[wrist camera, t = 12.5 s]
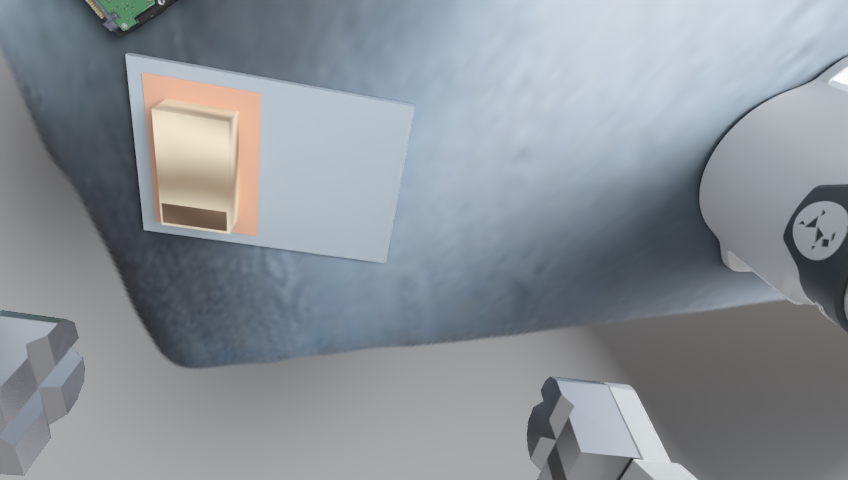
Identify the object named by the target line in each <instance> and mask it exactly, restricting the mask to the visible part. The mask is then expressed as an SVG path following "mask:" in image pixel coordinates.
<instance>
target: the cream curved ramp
mask: <svg viewBox="0 0 848 480" xmlns="http://www.w3.org/2000/svg"><path fill="white" fill-rule="evenodd" d="M151 111H152V122H153V134H154V145H155V157H156V168H157V180H158V191H159V202H160V214H161V225H167V226H174V227H181V228H189V229H196V230H203V231H210V232H218V233H225V234H230V232H231V231H232V229H233V227H234V225H235V224H236V222H237V220H238V205H239V111H237V110H231V109H225V108H219V107H213V106H207V105H201V104H196V103H190V102H184V101H178V100H172V99H165V100H163V101H162V102H161V103H159V104H158V105H157V106H155V107H154V108H152V109H151Z"/></svg>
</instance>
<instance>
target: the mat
mask: <svg viewBox="0 0 848 480" xmlns="http://www.w3.org/2000/svg"><path fill="white" fill-rule="evenodd" d="M125 57H126V66H127V76H128V85H129V95H130V104H131V114H132V123H133V132H134V142H135V151H136V161H137V170H138V180H139V189H140V198H141V208H142V217H143V227H144V230H148V231H155V232H162V233H169V234H177V235H184V236H191V237H198V238H206V239H213V240H220V241H227V242H234V243H242V244H249V245H256V246H263V247H271V248H278V249H285V250H292V251H299V252H307V253H314V254H321V255H328V256H336V257H343V258H350V259H357V260H365V261H372V262H379V263H386V260H387V255H388V250H389V244H390V239H391V234H392V228H393V223H394V218H395V212H396V207H397V201H398V196H399V191H400V185H401V180H402V175H403V169H404V164H405V158H406V153H407V148H408V142H409V137H410V132H411V126H412V121H413V116H414V110H415V104H410V103H404V102H399V101H393V100H388V99H382V98H377V97H371V96H366V95H360V94H355V93H349V92H344V91H338V90H333V89H327V88H322V87H316V86H311V85H305V84H300V83H294V82H288V81H283V80H277V79H272V78H266V77H261V76H255V75H250V74H244V73H239V72H233V71H228V70H222V69H217V68H211V67H206V66H200V65H195V64H189V63H184V62H178V61H173V60H167V59H162V58H156V57H150V56H145V55H139V54H134V53H127V54H125ZM165 99H172V100H178V101H184V102H190V103H196V104H201V105H207V106H213V107H219V108H225V109H231V110H237V111H239V205H238V220H237V222H236V224H235V225H234V227H233V229H232V231H231V232H230V234H225V233H218V232H210V231H203V230H196V229H189V228H181V227H174V226H167V225H161V214H160V202H159V191H158V180H157V168H156V157H155V145H154V134H153V122H152V111H151V109H152V108H154V107H155V106H157V105H158V104H159V103H161V102H162V101H163V100H165Z"/></svg>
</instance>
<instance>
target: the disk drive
mask: <svg viewBox="0 0 848 480" xmlns="http://www.w3.org/2000/svg"><path fill="white" fill-rule="evenodd" d="M85 1H86V2H87V3H88V4H89V5H90V6H91V8H92V9H93V10H94V11H95V12H96V14H97V15H98V16H99V17H100V18H101V19H104V20H105V21H106V22H105V23H103V25H104V26H105V27H107V28H108V29H109V30H110V31H114V32H115V33H116V34H117V35H119V36H124V35H126V34H128V33H131V32H133V31H134V30H136V29H137V28H139V27H140V26H142V25H143V24H144V23H146V22H147V21H149V20H150V19H153V18H155V17H156V16H158V15H159V14H161V13H162V12H164V11H165V10H166V8H168V7H169V6H171V5H172V4H173V3H175V2H176V1H178V0H85Z"/></svg>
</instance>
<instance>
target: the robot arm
mask: <svg viewBox="0 0 848 480" xmlns="http://www.w3.org/2000/svg"><path fill="white" fill-rule="evenodd" d="M699 201H700V209H701V213H702V216H703V218H704V220H705V222H706V224H707V225H708V227H709V228H710V229H711V231H712V232H713V233H714V234H715V235H716V237H717V238H718V240H719V242H720V248H721V256H722V260H723V262H724V264H725V265H726V266H728V267H729V268H730V269H732V270H733V271H736V272H751V271H753V272H754V273H755V274H756V275H758V276H759V277H760V278H761V279H762V280H764V281H765V282H766V283H767V284H769V285H770V286H771V287H772V288H774V289H775V290H776V291H777V292H779V293H780V294H781V295H782V296H784V297H785V298H786V299H788V300H789V301H790V302H792V303H795V304H797V305H801V304H810V305H816V306H817V307H818V308H819V310H820V311H821V312H822V313H823V314H824V315H825V316H826V317H827V318H828V319H830V320H831V321H832V322H833V323H835V324H836V325H837V326H840V327H841V328H843V329H844V330H845V331H847V332H848V56H847V57H845V58H844V59H842V60H840V61H839V62H837V63H836V64H835V65H833V66H832V67H830V68H829V69H828V70H826V71H825V72H824V73H823V74H821V75H820V76H819V77H817V78H816V79H815V80H813V81H811V82H809V83H807V84H805V85H803V86H800V87H797V88H795V89H792V90H789V91H787V92H784V93H782V94H780V95H777V96H775V97H774V98H772V99H770V100H768V101H766V102H764V103H763V104H761V105H760V106H758V107H757V108H755V109H754V110H752V111H751V112H750V113H748V114H747V115H746V116H745V117H743V118H742V119H741V120H740V121H739V122H738V123H737V124H736V125H735V126H734V127H733V128H732V129H731V130H730V131H729V132H728V133H727V134H726V135H725V137H724V138H723V139H722V140H721V142H720V143H719V144H718V146H717V147H716V149H715V150H714V152H713V154H712V155H711V157H710V159H709V161H708V163H707V165H706V168H705V170H704V173H703V176H702V180H701V185H700V193H699ZM77 339H78V334H77V330H76V326H75V323H74V322H72V321H69V320H67V319H60V318H53V317H46V316H39V315H31V314H25V313H17V312H10V311H4V310H2V311H0V474H7V475H25V474H26V472H27V471H28V469H29V468H30V467H31V465H32V464H33V462H34V461H35V460H36V458H37V457H38V455H39V454H40V453H41V451H42V450H43V448H44V447H45V445H46V444H47V443H48V441H49V440H50V438H51V435H50V429H49V424H51V423H53V422H55V421H57V420H58V419H60V418H62V417H63V416H65V415H67V414H68V413H69V411H70V410H71V408H72V407H73V405H74V404H75V402H76V400H77V399H78V396H79V393H80V391H81V388H82V385H83V382H84V372H85V367H84V361H83V357H81V356H80V355H79V354H78V353H77V352H76V351H75V350H74V349H73V348H72V345H73V344H74V343H75V342H76V340H77ZM541 393H542V396H543V400H544V401H543V402H541V403H540V404H538V405H537V406H535V407H533V410H532V413H531V415H530V418H529V422H528V429H527V443H528V450H529V455H530V459H531V460H532V462H533V463H534V464H535V465H536V466H537V467H538V468H539V469H540V470H541V473H540V475H539V477H538V479H537V480H698V479H696V478H695V477H694V476H693V475H692V474H691V473H689V472H688V471H687V470H686V469H685V468H684V467H683V466H681V465H680V464H677V463H671V461H670V459H669V457H668V455H667V453H666V451H665V449H664V448H663V445H662V443H661V441H660V439H659V437H658V435H657V433H656V432H655V429H654V428H653V425H652V423H651V422H650V419H649V417H648V415H647V413H646V412H645V409H644V408H643V406H642V404H641V402H640V400H639V398H638V396H637V394H636V392H635V390H634V389H633V388H632V387H631V386H630V385H625V384H616V383H607V382H602V383H600V382H596V381H587V380H578V379H569V378H559V377H549V378H548V379H547V380H546V381H545V383H544V385H543V387H542V389H541Z"/></svg>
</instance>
